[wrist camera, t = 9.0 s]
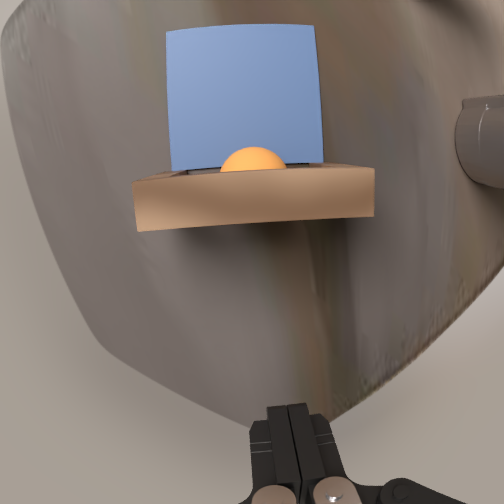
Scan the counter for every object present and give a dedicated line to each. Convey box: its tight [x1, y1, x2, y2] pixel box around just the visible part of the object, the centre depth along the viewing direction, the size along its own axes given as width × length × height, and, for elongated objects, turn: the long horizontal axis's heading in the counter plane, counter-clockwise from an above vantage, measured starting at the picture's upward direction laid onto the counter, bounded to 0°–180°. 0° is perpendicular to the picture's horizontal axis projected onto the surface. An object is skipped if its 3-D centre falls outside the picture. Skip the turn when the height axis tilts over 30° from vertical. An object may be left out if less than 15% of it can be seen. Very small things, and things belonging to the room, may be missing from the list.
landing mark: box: [166, 24, 323, 171], centre depth 24 cm, size 13×13×1 cm
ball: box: [220, 147, 287, 172], centre depth 24 cm, size 6×6×6 cm
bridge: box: [132, 162, 374, 232], centre depth 22 cm, size 3×14×9 cm, turn 93°
